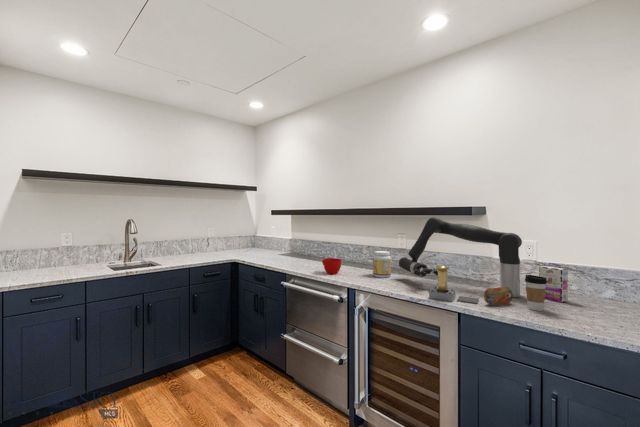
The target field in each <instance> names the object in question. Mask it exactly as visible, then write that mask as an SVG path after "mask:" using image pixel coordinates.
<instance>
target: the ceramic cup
mask: <svg viewBox="0 0 640 427" xmlns="http://www.w3.org/2000/svg"><path fill="white" fill-rule="evenodd" d="M321 263H322V265H323V268H324V270H325V273H327V274H328V275H337V274H338V273H339V271H341V268H342V267H341V266H342V259H340V258H331V257H329V258H323V260H322V262H321Z"/></svg>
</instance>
